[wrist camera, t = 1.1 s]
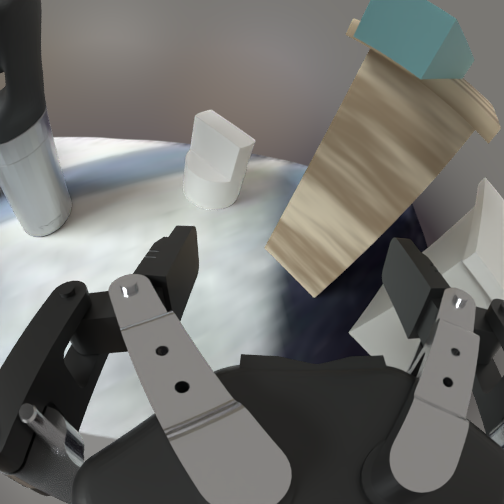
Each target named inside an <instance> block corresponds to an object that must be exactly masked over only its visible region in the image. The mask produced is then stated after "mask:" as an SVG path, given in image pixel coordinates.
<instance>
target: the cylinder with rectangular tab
mask: <svg viewBox="0 0 504 504" xmlns="http://www.w3.org/2000/svg"><path fill="white" fill-rule="evenodd" d="M255 141H256V140H254V139H253V138H252V137H250V136H249V135H248V134H246V133H245V132H243V131H242V130H240V129H239V128H238V127H236V126H234V125H233V124H232V123H230V122H229V121H227V120H226V119H224V118H223V117H221V116H220V115H218V114H217V113H215V112H214V111H212V110H207V111H203V112H201V113H199V114H197V115H195V120H194V126H193V133H192V140H191V147H190V150H189V151H188V152H187V155H186V159H185V168H184V177H183V192H184V195H185V197H186V198H187V199H188V200H189V202H191V203H192V204H194V205H195V206H197V207H200V208H202V209H207V210H220V209H225V208H227V207H229V206H231V205H232V204H233V203H234V202H235V201H236V199H237V197H238V195H239V192H240V189H241V185H242V182H243V179H244V176H245V173H246V170H247V165H248V162H249V159H250V156H251V153H252V149H253V147H254V144H255Z"/></svg>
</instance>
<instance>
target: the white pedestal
mask: <svg viewBox="0 0 504 504" xmlns="http://www.w3.org/2000/svg"><path fill="white" fill-rule="evenodd" d="M422 253H423V254H424V255H426V256H427V257H428V258H429V259H430V260H431V262H432V263H433V264H434V266H435V267H436V268H437V269H438V272H440V273H441V275H442V276H443V278H444V279H445V280H446V282H447V283H448V284H449V286H450V287H452V288H458V289H461V290H463V291H465V292H467V293H468V294H469V295H470V296H471V297H472V298H473V299H474V301H475V304H476V307H480V308H484V309H488V308H489V306H490V304H491V302H492V300H493V299H502V300H504V200H503V198H502V197H501V196H500V194H499V193H498V192H497V191H496V190H495V188H494V187H493V186H492V185H491V183H490V182H489V181H488V180H487V179H486V178H484V179H483V180H482V181H481V182H480V183H479V184H478V190H477V197H476V203H475V206H474V207H473V208H472V209H471V210H470V211H469V212H468V213H467V214H466V215H465V216H464V217H463V218H462V219H461V220H459V221H458V222H457V223H456V224H455V225H454V226H453V227H451V228H450V229H449V230H448V231H447V232H446V233H445V234H444V235H442V236H441V237H440V238H439V239H438V240H437V241H436V242H434V243H433V244H432V245H431V246H429V247H428V248H427V249H426V250H425V251H423V252H422ZM348 333H349V334H350V335H351V336H352V337H353V338H354V339H355V340H356V341H357V342H358V343H359V344H360V345H361V346H362V347H363V348H364V349H365V350H366V351H367V352H368V353H369V354H370V355H371V356H377V355H383V356H384V359H385V363H386V366H391V367H395V368H398V369H401V370H403V371H405V372H407V370H408V367H409V365H410V363H411V360H412V358H413V356H414V353H415V351H416V348H417V346H418V344H419V342H420V341H421V340H420V338H416V339H408V338H407V336H406V333H405V331H404V329H403V326H402V324H401V322H400V319H399V317H398V315H397V313H396V311H395V308H394V306H393V304H392V302H391V300H390V298H389V295H388V293H387V291H386V289H385V287H384V285H382V286H381V288H380V289H379V291H378V292H377V294H376V295H375V297H374V298H373V299H372V301H371V302H370V304H369V305H368V307H367V308H366V309H365V311H364V312H363V314H362V315H361V316H360V318H359V319H358V320H357V322H356V323H355V324H354V326H353V327H352V328H351V330H350V331H349V332H348Z"/></svg>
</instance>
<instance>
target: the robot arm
mask: <svg viewBox="0 0 504 504" xmlns="http://www.w3.org/2000/svg"><path fill="white" fill-rule="evenodd" d="M2 72H5V80H6V86H5V87H4V88H3V89H2V90H0V187H1V189H2V191H3V193H4V195H5V197H6V199H7V200H8V202H9V204H10V206H11V208H12V210H13V212H14V213H15V215H16V217H17V219H18V220H19V222H20V224H21V226H22V227H23V229H24V230H25V232H27V233H28V234H29V235H32V236H37V237H40V236H45V235H48V234H51V233H53V232H54V231H56V230H57V229H59V228H60V227H61V226H62V225H63V224H64V223H65V221H66V220H67V218H68V217H69V214H70V212H71V208H72V201H71V198H70V195H69V192H68V188H67V185H66V182H65V179H64V175H63V172H62V169H61V165H60V162H59V158H58V154H57V151H56V147H55V143H54V139H53V135H52V131H51V126H50V122H49V117H48V112H47V107H46V101H45V95H44V83H43V70H42V61H41V0H0V73H2ZM198 270H199V257H198V245H197V232H196V228H195V226H176V227H175V228H174V230H173V231H172V233H171V234H170V236H169V237H163V238H161V239H160V240H158V241H157V242H155V243H154V244H153V246H152V247H151V249H150V250H149V251H148V253H147V254H146V256H145V257H144V258H143V260H142V261H141V263H140V264H139V266H138V267H137V269H136V270H135V272H134V273H133V274H129V275H125V276H122V277H120V278H118V279H116V280H115V281H114V282H113V283H112V284H111V285H110V287H109V291H105V292H97V293H88V290H87V287H86V285H85V284H84V283H83V282H80V281H70V282H66V283H64V284H62V285H60V286H58V287H57V288H56V289H55V290H54V291H53V292H52V293H51V295H50V296H49V297H48V299H47V300H46V301H45V303H44V304H43V305H42V307H41V308H40V309H39V311H38V312H37V313H36V315H35V316H34V318H33V319H32V320H31V322H30V323H29V325H28V326H27V328H26V329H25V331H24V332H23V334H22V335H21V337H20V338H19V340H18V341H17V343H16V344H15V346H14V347H13V349H12V351H11V352H10V354H9V355H8V357H7V359H6V360H5V362H4V364H3V365H2V367H1V369H0V472H1V473H2V474H4V475H5V476H7V477H9V478H10V479H12V480H14V481H15V482H17V483H19V484H21V485H22V486H24V487H26V488H30V489H32V490H34V491H35V492H37V493H39V494H41V495H44V496H53V497H55V498H57V499H59V500H61V501H63V502H66V503H68V504H504V376H503V377H501V375H500V373H499V371H498V368H497V366H496V364H495V362H494V360H493V357H494V356H495V354H496V353H497V351H498V350H499V348H500V347H501V346H502V348H503V350H504V300H502V299H493V300H492V302H491V304H490V306H489V308H488V309H484V308H480V307H476V304H475V301H474V299H473V298H472V297H471V296H470V295H469V294H468V293H467V292H465V291H463V290H461V289H458V288H452V287H450V286H449V284H448V283H447V282H446V280H445V279H444V278H443V276H442V275H441V273H440V272H438V269H437V268H436V267H435V266H434V264H433V263H432V262H431V260H430V259H429V258H428V257H427V256H426V255H424V254H423V253H422V252H420V251H419V249H418V248H417V247H416V246H415V244H414V243H413V242H412V241H411V240H410V239H405V238H393V239H392V240H391V242H390V245H389V249H388V253H387V257H386V260H385V264H384V267H383V271H382V282H383V285H384V287H385V289H386V291H387V293H388V295H389V298H390V300H391V302H392V304H393V306H394V308H395V311H396V313H397V315H398V317H399V319H400V322H401V324H402V326H403V329H404V331H405V333H406V336H407V338H408V339H416V338H420V340H421V341H420V342H419V344H418V346H417V348H416V351H415V353H414V356H413V358H412V360H411V363H410V365H409V367H408V370H407V372H405V371H403V370H401V369H398V368H395V367H391V366H386V363H385V359H384V356H383V355H377V356H354V357H348V358H344V359H340V360H336V361H331V362H327V363H322V364H310V363H306V362H301V361H297V360H292V359H288V358H283V357H279V356H262V355H245V354H241V359H240V365H235V366H230V367H226V368H223V369H220V370H217V371H214V372H213V370H212V369H211V367H210V366H209V365H208V363H207V362H206V360H205V359H204V357H203V356H202V354H201V353H200V351H199V350H198V348H197V347H196V345H195V344H194V342H193V341H192V339H191V338H190V336H189V335H188V333H187V332H186V330H185V329H184V327H183V326H182V324H181V322H180V321H181V318H182V315H183V312H184V310H185V307H186V304H187V302H188V299H189V296H190V293H191V291H192V288H193V286H194V283H195V280H196V278H197V275H198ZM69 341H71V343H72V345H71V346H70V348H69V350H68V352H67V354H66V356H65V358H64V351H65V349H66V347H67V345H68V343H69ZM127 351H128V352H129V355H130V357H131V360H132V362H133V365H134V367H135V370H136V372H137V375H138V377H139V379H140V382H141V384H142V386H143V389H144V391H145V393H146V395H147V397H148V400H149V402H150V404H151V406H152V408H153V410H154V412H155V414H153V415H152V416H150V417H149V418H148V419H146V420H145V421H143V422H142V423H141V424H139V425H138V426H136V427H135V428H133V429H132V430H130V431H129V432H128V433H126V434H125V435H123V436H122V437H120V438H119V439H117V440H116V441H115V442H113V443H111V444H110V445H108V446H107V447H105V448H104V449H102V450H101V451H99V452H98V453H96V454H94V455H93V456H91V457H90V458H89V459H87V460H86V461H85V462H84V442H83V439H82V437H81V435H80V434H79V429H80V426H81V423H82V420H83V417H84V415H85V412H86V409H87V406H88V404H89V401H90V398H91V396H92V393H93V391H94V388H95V386H96V383H97V381H98V378H99V376H100V373H101V371H102V368H103V366H104V364H105V361H106V359H107V357H108V354H109V353H116V352H127ZM472 391H473V394H474V397H475V400H476V402H477V405H478V409H479V412H480V415H481V418H482V421H483V425H484V428H485V431H486V434H485V433H484V432H483V431H482V430H480V429H479V428H478V427H477V426H475V425H474V424H473V423H472V422H470V421H469V420H468V419H467V418H466V415H467V410H468V406H469V402H470V397H471V392H472Z"/></svg>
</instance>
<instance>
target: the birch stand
mask: <svg viewBox="0 0 504 504" xmlns="http://www.w3.org/2000/svg"><path fill="white" fill-rule="evenodd" d="M359 23H360V20H357V19H353V20H352V22H351V24H350V26H349V28H348V31H347V33H346V35H347V36H349V37H351V38H353V39H355V40H357V41H359V42H360V43H362V44H364V45H365V46H367V47H369V48H370V50H369V52H368V54H367V56H366V58H365V60H364V62H363V63H362V65H361V67H360V69H359V71H358V73H357V75H356V77H355V79H354V81H353V83H352V85H351V87H350V88H349V90H348V92H347V94H346V96H345V98H344V100H343V102H342V104H341V106H340V107H339V110H338V111H337V113H336V115H335V117H334V119H333V121H332V123H331V125H330V127H329V129H328V130H327V132H326V134H325V136H324V138H323V140H322V142H321V144H320V145H319V147H318V149H317V151H316V153H315V155H314V157H313V159H312V160H311V162H310V164H309V166H308V168H307V170H306V172H305V173H304V175H303V177H302V179H301V181H300V183H299V185H298V187H297V188H296V190H295V192H294V194H293V196H292V198H291V200H290V201H289V203H288V205H287V207H286V209H285V211H284V213H283V214H282V216H281V218H280V220H279V222H278V224H277V226H276V227H275V229H274V231H273V233H272V235H271V237H270V239H269V240H268V242H267V244H266V246H265V249H266V250H267V251H268V252H269V253H270V254H271V255H272V256H273V257H274V258H275V259H276V260H277V261H278V262H279V263H280V264H281V265H282V266H283V267H284V268H285V269H286V270H287V271H288V272H289V273H290V274H291V275H292V276H293V277H294V278H295V279H296V280H297V281H298V282H299V283H300V284H301V285H302V286H303V287H304V288H305V289H306V290H307V291H308V292H309V293H310V294H311V295H312V296H313V297H314V298H315V297H316V296H317V295H318V294H319V293H321V292H322V291H323V290H324V289H325V288H326V287H327V286H328V285H329V284H331V283H332V282H333V281H334V280H335V279H336V278H337V277H338V276H339V275H340V274H341V273H342V272H344V271H345V270H346V269H347V268H348V267H349V266H350V265H351V264H352V263H353V262H354V261H355V260H356V259H357V258H358V257H359V256H360V255H362V254H363V253H364V252H365V251H366V250H367V249H368V248H369V247H370V246H371V245H372V244H373V243H374V242H375V241H376V240H377V239H378V238H379V237H380V236H381V235H382V234H383V233H384V232H385V231H386V230H387V229H388V228H389V227H390V226H391V225H392V224H393V223H394V222H395V221H396V220H397V219H398V218H399V216H400V215H401V214H402V213H403V212H404V211H405V210H406V209H407V208H408V207H409V206H410V205H411V204H412V203H413V202H414V201H415V200H416V198H417V197H418V196H419V195H420V194H421V193H422V192H423V191H424V190H425V188H426V187H427V186H428V185H429V184H430V183H431V182H432V181H433V179H435V177H436V176H437V175H438V174H439V173H440V172H441V171H442V169H443V168H444V167H445V166H446V165H447V164H448V162H449V161H450V160H451V159H452V158H453V157H454V155H455V154H456V153H457V152H458V151H459V149H460V148H461V147H462V146H463V144H464V143H465V142H466V141H467V139H468V138H469V137H470V136H471V134H472V133H473V132H474V131H475V130H476V131H477V132H478V133H479V134H480V135H481V136H482V137H483V138H484V139H485V140H486V141H487V143H489V142H490V141H491V140H492V139H493V138H494V136H495V135H496V134H497V133H498V131H499V130H500V129H501V127H500V124H499V121H498V118H497V116H496V113H495V110H494V108H493V105H492V104H491V103H490V102H489V101H488V100H487V99H486V98H484V96H483V95H481V94H480V93H479V92H478V91H477V90H476V89H475V88H474V87H473V86H472V85H470V84H469V83H468V82H467V81H466V80H465V79H463V78H462V79H419V78H418V77H417V76H415V75H414V74H412V73H411V72H410V71H408V70H407V69H405V68H404V67H403V66H401V65H400V64H398V63H397V62H395V61H394V60H392V59H391V58H389V57H387V56H386V55H384V54H383V53H381V52H379V51H378V50H376V49H375V48H373V47H371V46H369V45H368V44H366V43H364V42H363V41H361V40H359V39H357V38H355V37H353V36H354V34H355V31H356V29H357V27H358V25H359Z"/></svg>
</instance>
